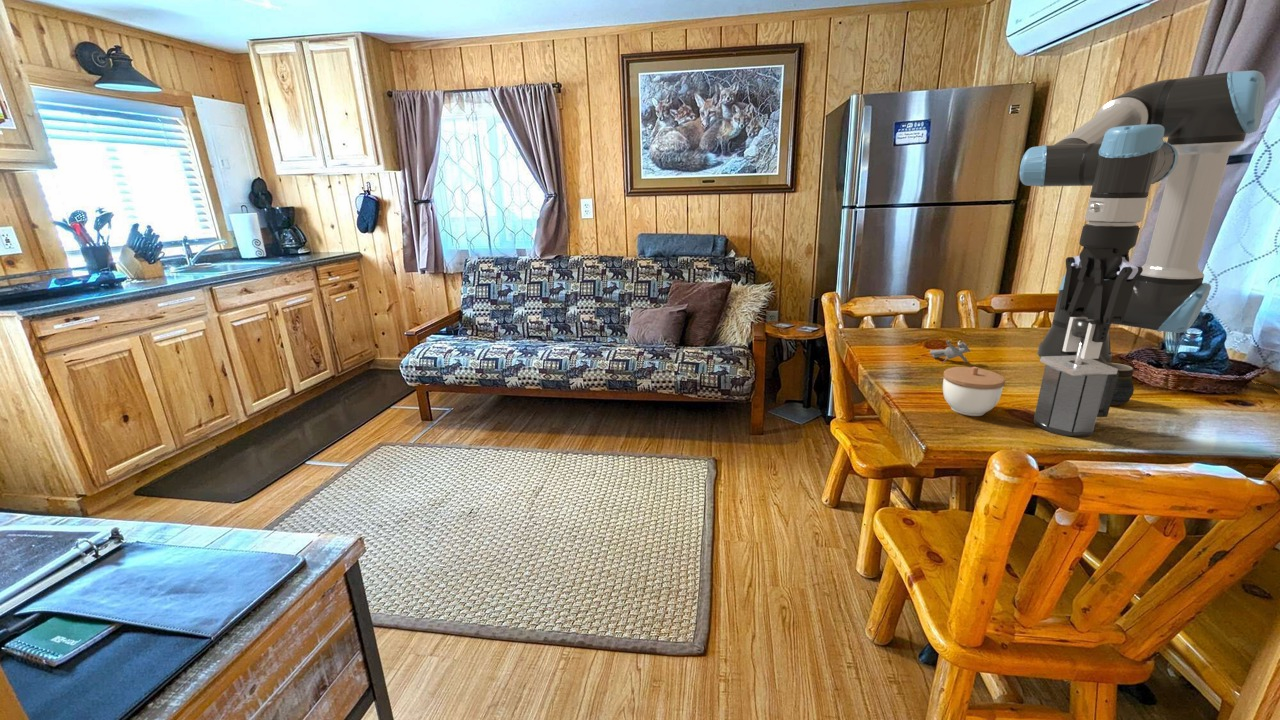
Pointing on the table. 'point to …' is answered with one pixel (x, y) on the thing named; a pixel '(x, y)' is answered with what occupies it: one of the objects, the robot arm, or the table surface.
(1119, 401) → the mate gourd
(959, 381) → the lidded jar
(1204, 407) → the table surface
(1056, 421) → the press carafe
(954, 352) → the grey animal figurine
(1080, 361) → the plunger
